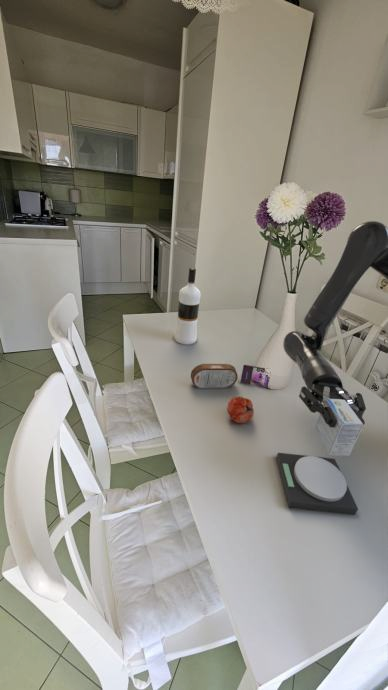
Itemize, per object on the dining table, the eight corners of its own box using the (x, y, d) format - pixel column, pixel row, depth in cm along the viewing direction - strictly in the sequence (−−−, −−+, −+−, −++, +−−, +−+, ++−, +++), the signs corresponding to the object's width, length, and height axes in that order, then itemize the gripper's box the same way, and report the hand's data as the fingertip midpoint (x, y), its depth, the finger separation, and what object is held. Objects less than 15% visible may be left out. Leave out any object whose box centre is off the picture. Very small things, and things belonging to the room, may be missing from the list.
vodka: (178, 346, 120) (185, 271, 106) (171, 336, 128) (176, 265, 114) (200, 344, 124) (209, 271, 110) (191, 334, 131) (198, 265, 117)
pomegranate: (220, 422, 87) (238, 425, 78) (219, 397, 88) (236, 396, 79) (242, 421, 90) (262, 423, 81) (241, 396, 91) (260, 395, 82)
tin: (233, 384, 101) (237, 362, 98) (236, 389, 99) (240, 367, 95) (189, 384, 98) (191, 362, 95) (190, 390, 96) (193, 368, 92)
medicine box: (349, 456, 62) (365, 425, 58) (328, 455, 62) (343, 423, 58) (332, 429, 69) (345, 398, 65) (313, 427, 69) (325, 397, 65)
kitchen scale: (331, 465, 75) (336, 455, 73) (354, 516, 63) (360, 506, 61) (275, 459, 74) (278, 449, 73) (287, 509, 63) (291, 498, 61)
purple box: (243, 365, 100) (271, 370, 99) (243, 362, 105) (269, 366, 104) (240, 384, 101) (267, 389, 100) (239, 380, 106) (265, 385, 105)
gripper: (294, 360, 73) (316, 407, 58) (353, 367, 73) (391, 415, 58) (287, 386, 77) (305, 435, 61) (343, 392, 77) (375, 443, 62)
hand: (347, 425), depth 60 cm, fingers closed on medicine box, 4 cm apart
